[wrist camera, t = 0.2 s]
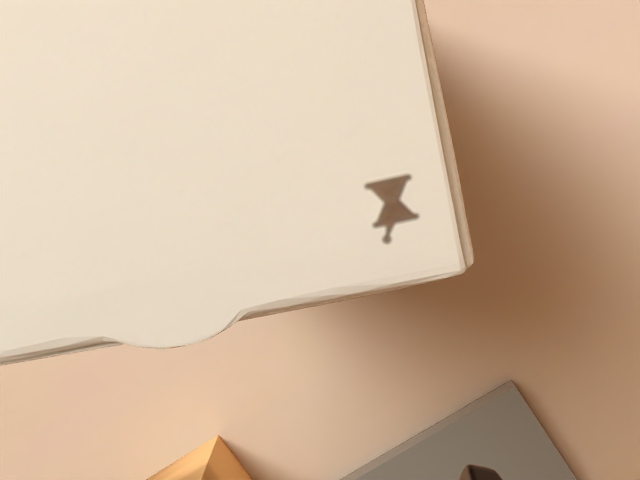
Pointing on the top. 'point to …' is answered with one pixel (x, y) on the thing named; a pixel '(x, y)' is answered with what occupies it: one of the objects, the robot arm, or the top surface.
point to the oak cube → (205, 465)
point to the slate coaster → (476, 445)
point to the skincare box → (215, 166)
